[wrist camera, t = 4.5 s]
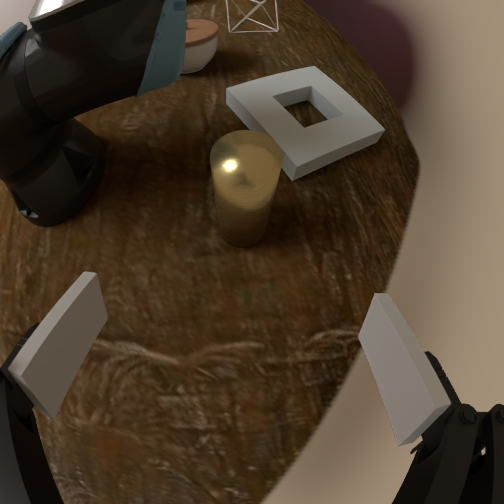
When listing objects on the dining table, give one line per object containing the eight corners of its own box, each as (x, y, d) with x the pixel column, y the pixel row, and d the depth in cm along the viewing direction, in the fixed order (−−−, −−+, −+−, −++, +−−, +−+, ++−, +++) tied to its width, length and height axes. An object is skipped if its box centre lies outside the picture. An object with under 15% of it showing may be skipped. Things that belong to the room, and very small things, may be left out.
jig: (292, 181, 32) (297, 166, 29) (226, 103, 35) (226, 88, 33) (377, 142, 35) (385, 129, 32) (310, 79, 39) (314, 66, 36)
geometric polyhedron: (245, 40, 43) (248, 4, 34) (214, 26, 45) (213, -6, 36) (287, 30, 46) (293, -2, 37) (255, 16, 48) (258, -13, 40)
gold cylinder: (234, 256, 28) (232, 198, 17) (210, 218, 30) (197, 146, 18) (274, 233, 29) (297, 167, 18) (250, 197, 31) (257, 121, 19)
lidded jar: (155, 60, 40) (147, 21, 31) (209, 47, 41) (208, 8, 32) (164, 88, 37) (155, 41, 28) (227, 72, 38) (227, 26, 29)
